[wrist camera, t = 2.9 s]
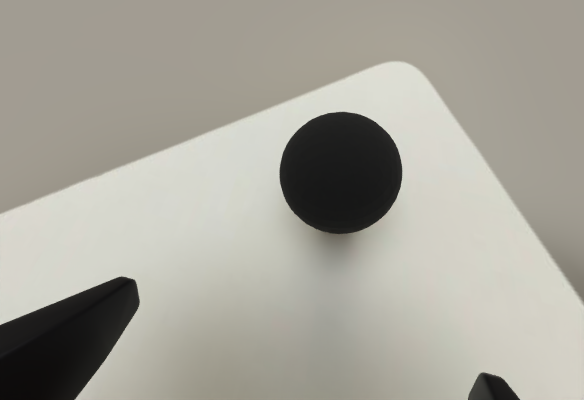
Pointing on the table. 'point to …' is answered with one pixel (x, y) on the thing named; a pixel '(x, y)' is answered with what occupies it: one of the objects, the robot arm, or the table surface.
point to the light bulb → (340, 172)
